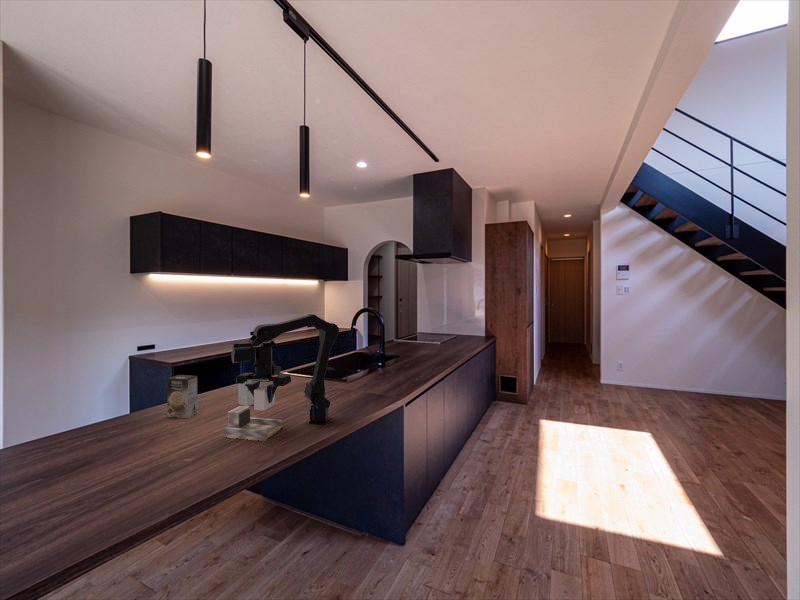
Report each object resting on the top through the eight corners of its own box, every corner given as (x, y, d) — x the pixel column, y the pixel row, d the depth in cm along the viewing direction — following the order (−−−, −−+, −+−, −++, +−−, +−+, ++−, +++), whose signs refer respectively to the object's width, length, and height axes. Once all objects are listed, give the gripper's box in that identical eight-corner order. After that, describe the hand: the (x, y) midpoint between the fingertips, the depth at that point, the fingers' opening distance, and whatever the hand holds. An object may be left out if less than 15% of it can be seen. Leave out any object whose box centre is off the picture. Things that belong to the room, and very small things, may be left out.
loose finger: (274, 403, 129) (274, 385, 129) (264, 410, 122) (264, 390, 122) (263, 403, 130) (263, 384, 130) (252, 409, 123) (252, 390, 123)
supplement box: (246, 407, 154) (246, 378, 154) (237, 403, 158) (237, 376, 158) (261, 402, 160) (261, 375, 159) (253, 399, 164) (252, 373, 164)
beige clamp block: (282, 427, 131) (282, 406, 131) (265, 441, 120) (264, 417, 119) (244, 424, 134) (243, 403, 134) (223, 437, 123) (223, 414, 122)
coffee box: (166, 417, 141) (166, 378, 140) (178, 412, 147) (177, 374, 147) (187, 418, 140) (187, 379, 140) (198, 413, 146) (198, 375, 146)
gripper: (298, 356, 132) (298, 397, 132) (253, 354, 135) (253, 394, 135) (283, 362, 121) (283, 407, 121) (234, 360, 124) (235, 403, 124)
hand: (263, 402), depth 126 cm, fingers closed on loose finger, 5 cm apart
